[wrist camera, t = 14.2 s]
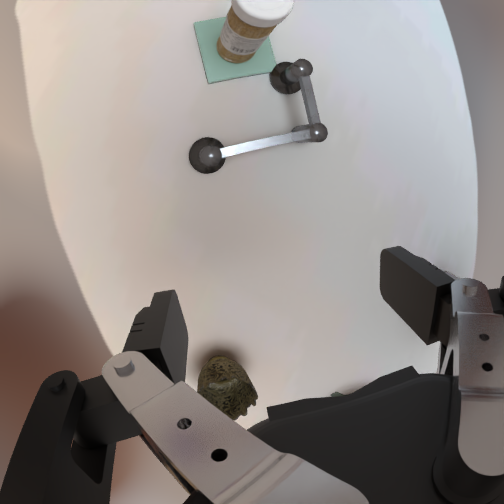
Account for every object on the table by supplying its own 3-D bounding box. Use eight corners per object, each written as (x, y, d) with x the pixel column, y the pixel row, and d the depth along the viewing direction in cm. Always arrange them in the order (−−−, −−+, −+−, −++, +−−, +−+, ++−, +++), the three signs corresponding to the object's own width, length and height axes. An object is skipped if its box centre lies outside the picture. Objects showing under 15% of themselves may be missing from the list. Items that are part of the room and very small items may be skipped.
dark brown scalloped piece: (212, 333, 40) (220, 371, 33) (255, 355, 43) (269, 393, 35) (182, 369, 41) (185, 409, 34) (224, 389, 44) (233, 427, 36)
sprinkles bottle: (261, 38, 29) (303, -13, 17) (247, 70, 30) (285, 28, 18) (223, 24, 28) (248, -35, 15) (209, 56, 29) (225, 5, 16)
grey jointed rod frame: (298, 61, 31) (316, 49, 26) (318, 147, 35) (339, 148, 30) (170, 84, 30) (168, 72, 25) (194, 177, 34) (196, 181, 28)
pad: (260, 14, 29) (261, 12, 28) (276, 71, 31) (277, 70, 31) (193, 24, 28) (193, 22, 27) (208, 84, 30) (208, 82, 30)
